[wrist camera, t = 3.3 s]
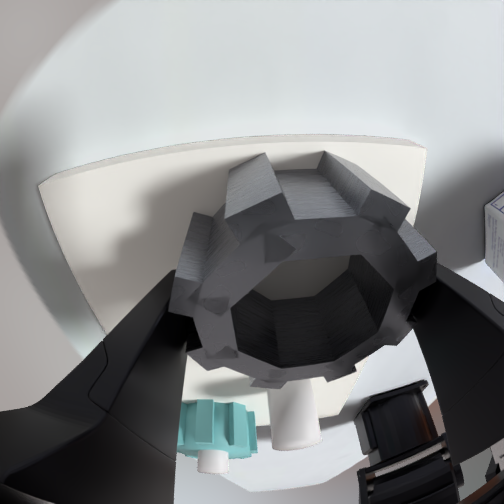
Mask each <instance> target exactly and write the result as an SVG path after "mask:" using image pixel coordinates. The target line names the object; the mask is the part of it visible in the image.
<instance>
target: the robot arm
mask: <svg viewBox="0 0 504 504" xmlns="http://www.w3.org/2000/svg"><path fill="white" fill-rule="evenodd" d="M175 273H176V269H173V270H171V271H170V272H169V273H168V274H167V275H166V276H165V277H164V278H163V279H161V280H160V281H159V282H158V283H157V284H156V285H155V286H154V287H153V288H152V289H151V290H150V291H149V292H148V293H147V294H146V295H145V296H144V297H143V298H142V299H141V300H140V301H139V302H138V303H137V304H136V305H135V307H134V308H133V309H132V310H131V311H130V312H129V313H128V314H127V315H126V316H125V317H124V318H123V319H122V320H121V321H120V322H119V323H118V324H117V325H116V326H115V327H114V328H113V329H112V330H111V331H110V332H109V333H108V335H107V336H106V337H105V338H104V339H103V341H101V342H100V343H99V344H98V345H97V346H96V347H95V348H94V349H93V350H92V351H91V352H90V354H89V355H88V356H87V357H86V358H85V359H84V360H83V361H82V362H81V363H80V364H79V365H78V366H77V367H76V368H74V369H73V370H72V371H71V372H70V373H69V374H68V375H67V376H66V377H65V378H64V379H63V380H62V381H61V382H60V383H58V384H57V385H56V386H55V387H54V388H53V389H52V390H51V391H50V392H49V393H48V394H47V395H46V396H45V397H44V398H42V399H41V400H40V401H38V402H37V403H35V404H33V405H32V406H28V407H25V408H20V409H14V410H8V411H1V412H0V504H174V484H175V469H176V462H175V461H176V454H177V442H178V432H179V422H180V412H181V403H182V394H183V386H184V378H185V371H186V363H187V356H188V355H187V354H186V353H185V351H186V343H187V338H188V334H189V328H190V319H191V317H190V316H185V315H181V314H176V313H172V312H168V310H169V304H170V298H171V293H172V288H173V282H174V277H175ZM411 313H412V314H413V316H414V318H415V320H416V321H417V324H416V325H415V326H414V328H413V330H414V332H415V335H416V337H417V340H418V342H419V345H420V348H421V350H422V353H423V356H424V359H425V361H426V364H427V367H428V370H429V373H430V376H431V379H432V383H433V386H434V389H435V392H436V396H437V399H438V402H439V406H440V410H441V414H442V415H443V416H442V418H443V422H444V426H445V431H446V432H444V433H443V434H442V435H441V436H438V434H437V431H436V428H435V425H434V422H433V419H432V417H431V414H430V411H429V409H428V406H427V403H426V401H425V398H424V395H423V393H422V391H423V390H424V389H425V388H426V387H427V386H428V382H427V380H426V381H423V382H420V383H417V384H414V385H411V386H408V387H405V388H402V389H399V390H396V391H393V392H389V393H386V394H382V395H379V396H375V397H373V398H371V399H369V400H368V402H367V403H366V405H365V406H364V408H363V409H362V410H361V412H360V413H359V414H358V416H357V417H356V418H355V420H354V424H355V425H356V429H357V433H358V437H359V441H360V446H361V450H362V454H363V455H368V457H369V461H370V467H368V468H362V469H359V471H357V476H358V481H359V504H504V302H503V301H501V300H500V299H498V298H496V297H495V296H493V295H492V294H489V293H488V292H487V291H485V290H483V289H482V288H480V287H479V286H477V285H475V284H474V283H472V282H470V281H469V280H467V279H465V278H463V277H462V276H460V275H458V274H456V273H455V272H453V271H451V270H449V269H448V268H446V267H444V266H442V265H440V264H439V263H437V274H436V282H435V283H433V284H431V285H429V286H427V287H425V288H424V289H422V290H420V291H419V292H418V295H417V297H416V300H415V302H414V304H413V307H412V309H411ZM440 444H441V446H442V448H441V449H439V450H437V451H435V452H433V453H431V454H429V455H427V456H425V457H423V458H421V459H419V460H417V461H415V462H412V463H410V464H408V465H406V466H403V467H401V468H398V469H396V470H393V471H391V472H388V473H385V474H382V475H380V476H377V477H376V476H375V473H376V472H379V471H382V470H385V469H387V468H390V467H393V466H395V465H398V464H400V463H403V462H405V461H407V460H410V459H412V458H414V457H416V456H418V455H421V454H423V453H425V452H427V451H429V450H430V449H433V448H434V447H436V446H438V445H440ZM489 447H490V449H491V452H492V458H491V461H490V464H489V467H488V470H487V472H486V475H485V477H486V481H487V483H486V484H485V485H483V486H482V487H481V488H479V489H478V490H476V491H475V492H473V493H472V494H471V495H469V496H468V497H466V498H465V499H463V500H462V501H460V498H459V491H458V488H460V487H462V486H463V485H464V479H463V474H462V470H461V466H460V463H461V462H463V461H465V460H467V459H469V458H471V457H473V456H475V455H477V454H479V453H480V452H482V451H484V450H486V449H487V448H489ZM444 456H445V458H446V460H443V457H444Z"/></svg>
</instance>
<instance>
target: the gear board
mask: <svg viewBox="0 0 504 504" xmlns="http://www.w3.org/2000/svg"><path fill="white" fill-rule="evenodd" d="M324 150H325V151H327V152H330V153H332V154H334V155H337V156H339V157H341V158H343V159H346V160H348V161H350V162H352V163H354V164H357V165H358V166H359V167H361V168H362V169H363V170H365V171H366V172H367V173H369V174H370V175H371V176H372V177H374V178H375V179H376V180H377V181H379V182H380V183H381V184H383V185H384V186H385V187H386V188H387V189H389V190H390V191H391V192H392V193H393V194H395V195H396V196H397V197H398V198H399V199H401V200H402V201H403V202H404V203H405V204H406V205H407V206H409V207H410V208H411V209H410V211H409V213H408V214H407V216H406V218H405V219H406V220H407V221H408V222H409V223H410V224H411V225H412V226H413V227H414V223H415V218H416V214H417V209H418V204H419V199H420V194H421V189H422V183H423V177H424V170H425V163H426V156H427V148H425V147H423V146H421V145H419V144H417V143H414V142H412V141H410V140H406V139H396V138H386V137H373V136H357V135H328V134H299V135H270V136H253V137H240V138H229V139H219V140H210V141H202V142H195V143H187V144H181V145H174V146H168V147H162V148H157V149H151V150H146V151H141V152H136V153H132V154H127V155H123V156H118V157H114V158H110V159H106V160H102V161H98V162H94V163H90V164H87V165H83V166H80V167H76V168H73V169H69V170H66V171H63V172H60V173H57V174H55V175H53V176H52V177H50V178H49V179H47V180H46V181H44V182H43V183H41V184H40V185H39V186H38V188H39V191H40V194H41V197H42V200H43V203H44V206H45V209H46V212H47V215H48V217H49V220H50V223H51V225H52V228H53V230H54V233H55V235H56V238H57V240H58V242H59V245H60V247H61V249H62V252H63V254H64V256H65V258H66V261H67V263H68V265H69V267H70V269H71V271H72V273H73V275H74V277H75V279H76V281H77V283H78V285H79V287H80V289H81V291H82V293H83V295H84V296H85V298H86V300H87V302H88V304H89V305H90V307H91V309H92V311H93V312H94V314H95V316H96V317H97V319H98V321H99V322H100V324H101V326H102V327H103V329H104V331H105V332H106V334H107V335H108V333H109V332H110V331H111V330H112V329H113V328H114V327H115V326H116V325H117V324H118V323H119V322H120V321H121V320H122V319H123V318H124V317H125V316H126V315H127V314H128V313H129V312H130V311H131V310H132V309H133V308H134V307H135V305H136V304H137V303H138V302H139V301H140V300H141V299H142V298H143V297H144V296H145V295H146V294H147V293H148V292H149V291H150V290H151V289H152V288H153V287H154V286H155V285H156V284H157V283H158V282H159V281H160V280H161V279H163V278H164V277H165V276H166V275H167V274H168V273H169V272H170V271H171V270H173V269H177V266H178V262H179V259H180V255H181V252H182V248H183V245H184V241H185V238H186V235H187V231H188V228H189V225H190V221H191V218H192V215H193V212H196V213H200V214H204V215H208V216H212V217H213V216H214V215H215V213H216V212H217V211H218V210H219V209H220V208H221V207H222V205H223V204H224V203H225V202H226V196H227V185H228V174H229V169H231V168H233V167H235V166H237V165H239V164H241V163H243V162H246V161H248V160H250V159H252V158H254V157H256V156H258V155H260V154H262V153H266V155H267V157H268V159H269V161H270V163H271V165H272V167H273V169H274V170H292V169H317V166H318V164H319V162H320V160H321V157H322V155H323V153H324ZM349 259H350V256H339V257H328V258H318V259H307V260H295V261H284V262H282V263H281V264H280V265H279V266H278V267H277V268H275V269H274V270H273V271H272V272H271V273H270V274H269V275H268V276H266V277H265V278H264V279H263V280H262V281H261V282H260V283H259V284H257V285H256V286H255V287H254V288H253V290H255V291H257V292H258V293H260V294H261V295H263V296H265V297H266V298H268V299H270V300H282V299H292V298H301V297H310V296H315V295H316V294H318V293H319V292H320V291H321V290H323V289H324V288H325V287H326V286H328V285H329V284H330V283H331V282H332V281H334V280H335V279H336V278H337V277H339V276H340V275H341V274H342V273H343V272H345V271H346V270H347V269H348V265H349ZM368 357H369V356H368ZM368 357H366V358H364V359H363V360H361V361H360V362H358V363H357V364H355V367H356V370H357V372H355V373H352V374H350V375H347V376H344V377H342V378H339V379H336V380H333V381H331V382H328V383H327V381H326V380H325V378H324V377H317V378H310V379H303V380H295V381H287V382H286V384H285V385H284V386H283V387H282V388H281V389H269V388H258V387H250V386H249V376H247V375H244V374H242V373H239V372H236V371H234V370H231V369H229V368H226V367H221V368H217V369H214V370H210V371H207V370H205V369H204V368H203V367H202V366H200V365H199V364H198V363H197V362H196V361H194V360H193V359H192V358H191V357H190V356H189V355H188V356H187V363H186V371H185V378H184V386H183V394H182V403H181V412H180V422H179V432H178V442H177V452H179V453H182V454H185V456H187V457H192V458H198V472H201V473H208V474H227V473H229V459H235V458H240V459H244V458H248V457H251V453H258V450H257V435H256V426H264V425H270V428H271V439H272V448H273V449H274V450H279V451H290V450H298V449H303V448H308V447H311V446H314V445H316V444H318V443H320V442H321V441H322V436H321V431H320V426H319V420H318V419H319V418H324V417H330V416H335V415H338V414H339V413H340V411H341V409H342V407H343V406H344V404H345V402H346V400H347V398H348V397H349V395H350V393H351V391H352V389H353V387H354V385H355V383H356V381H357V379H358V377H359V375H360V373H361V371H362V369H363V367H364V365H365V363H366V361H367V359H368Z"/></svg>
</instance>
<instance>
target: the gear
mask: <svg viewBox="0 0 504 504" xmlns="http://www.w3.org/2000/svg"><path fill="white" fill-rule="evenodd" d="M410 209H411V208H410V207H409V206H407V205H406V204H405V203H404V202H403V201H402V200H401V199H399V198H398V197H397V196H396V195H395V194H393V193H392V192H391V191H390V190H389V189H387V188H386V187H385V186H384V185H383V184H381V183H380V182H379V181H377V180H376V179H375V178H374V177H372V176H371V175H370V174H369V173H367V172H366V171H365V170H363V169H362V168H361V167H359V166H358V165H357V164H354V163H352V162H350V161H348V160H346V159H343V158H341V157H339V156H337V155H334V154H332V153H330V152H327V151H325V150H324V153H323V155H322V157H321V160H320V162H319V164H318V166H317V169H292V170H274V169H273V167H272V165H271V163H270V161H269V159H268V157H267V155H266V153H262V154H260V155H258V156H256V157H254V158H252V159H250V160H248V161H246V162H243V163H241V164H239V165H237V166H235V167H233V168H231V169H229V174H228V185H227V196H226V202H225V203H224V204H223V205H222V207H221V208H220V209H219V210H218V211H217V212H216V213H215V215H214V216H213V217H212V216H208V215H204V214H200V213H196V212H193V215H192V218H191V221H190V225H189V228H188V231H187V235H186V238H185V241H184V245H183V248H182V252H181V255H180V259H179V262H178V266H177V269H176V273H175V277H174V282H173V288H172V293H171V298H170V304H169V310H168V312H172V313H176V314H181V315H185V316H190V317H191V319H190V328H189V334H188V338H187V343H186V351H185V353H186V354H187V355H189V356H190V357H191V358H192V359H193V360H194V361H196V362H197V363H198V364H199V365H200V366H202V367H203V368H204V369H205V370H207V371H210V370H214V369H217V368H221V367H226V368H229V369H231V370H234V371H236V372H239V373H242V374H244V375H247V376H249V386H250V387H258V388H269V389H281V388H282V387H283V386H284V385H285V384H286V382H287V381H295V380H303V379H310V378H317V377H324V378H325V380H326V381H327V383H328V382H331V381H333V380H336V379H339V378H342V377H344V376H347V375H350V374H352V373H355V372H357V370H356V367H355V364H357V363H358V362H360V361H361V360H363V359H364V358H366V357H368V356H369V355H371V354H372V353H374V352H375V351H377V350H378V349H380V348H381V347H383V346H384V345H394V346H397V345H398V344H399V343H400V342H401V341H402V340H403V339H404V337H405V336H406V335H407V334H408V333H409V332H410V331H411V330H412V329H413V328H414V326H415V325H416V324H417V321H416V320H415V318H414V316H413V314H412V313H411V309H412V307H413V304H414V302H415V300H416V297H417V295H418V292H419V291H420V290H422V289H424V288H425V287H427V286H429V285H431V284H433V283H435V282H436V274H437V251H436V250H435V249H434V248H433V247H432V246H431V245H430V244H429V243H428V242H427V241H426V240H425V238H424V237H423V236H422V235H421V234H420V233H419V232H418V231H417V230H416V229H415V228H414V227H413V226H412V225H411V224H410V223H409V222H408V221H407V220H406V219H405V218H406V216H407V214H408V213H409V211H410ZM339 256H350V259H349V265H348V269H347V270H346V271H345V272H343V273H342V274H341V275H340V276H339V277H337V278H336V279H335V280H334V281H332V282H331V283H330V284H329V285H328V286H326V287H325V288H324V289H323V290H321V291H320V292H319V293H318V294H316V295H315V296H310V297H301V298H292V299H282V300H270V299H268V298H266V297H265V296H263V295H261V294H260V293H258V292H257V291H255V290H253V288H254V287H255V286H256V285H257V284H259V283H260V282H261V281H262V280H263V279H264V278H265V277H266V276H268V275H269V274H270V273H271V272H272V271H273V270H274V269H275V268H277V267H278V266H279V265H280V264H281V263H282V262H284V261H295V260H307V259H318V258H328V257H339Z"/></svg>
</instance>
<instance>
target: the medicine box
mask: <svg viewBox="0 0 504 504" xmlns="http://www.w3.org/2000/svg"><path fill="white" fill-rule="evenodd" d="M485 231H486V252H485V262H486V264H487V265H488V266H489V267H490V268H491V269H492V270H493V271H494V273H495V274H496V275H497V276H498V277H499V278H500V279H501V280H502V281H503V283H504V192H502V193H501V194H500V195H499V196H497V197H496V198H495V199H494V200H492V201H491V202H490V203H488V204H486V205H485Z"/></svg>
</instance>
